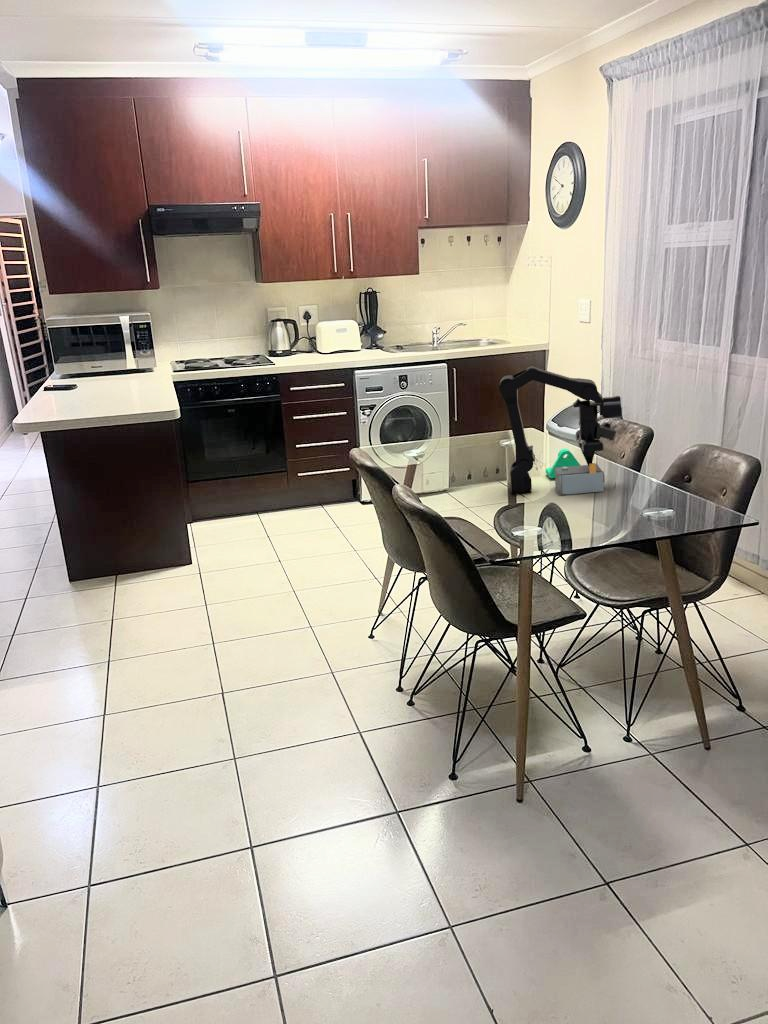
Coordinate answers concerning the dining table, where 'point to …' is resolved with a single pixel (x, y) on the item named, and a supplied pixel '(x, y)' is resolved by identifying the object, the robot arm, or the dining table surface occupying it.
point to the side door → (582, 482)
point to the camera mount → (562, 462)
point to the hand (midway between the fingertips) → (589, 465)
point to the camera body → (573, 472)
